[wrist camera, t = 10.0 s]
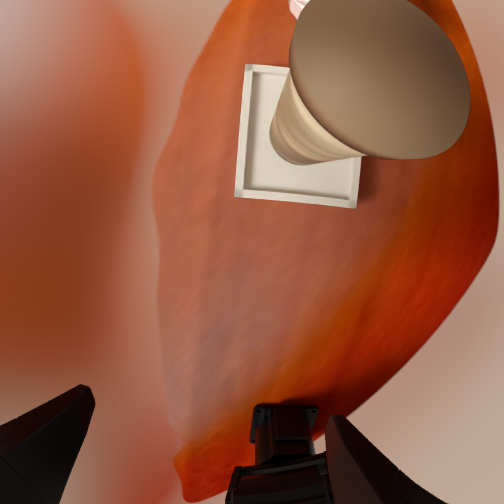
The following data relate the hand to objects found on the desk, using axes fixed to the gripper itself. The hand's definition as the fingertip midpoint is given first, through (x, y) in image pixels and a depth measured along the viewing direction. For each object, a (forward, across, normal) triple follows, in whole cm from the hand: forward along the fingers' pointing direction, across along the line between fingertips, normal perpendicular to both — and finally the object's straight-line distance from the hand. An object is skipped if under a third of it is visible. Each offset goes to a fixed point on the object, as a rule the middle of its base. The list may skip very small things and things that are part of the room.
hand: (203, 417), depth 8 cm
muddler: (+12, -4, -11) cm, 17 cm away
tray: (+13, -4, -11) cm, 17 cm away
